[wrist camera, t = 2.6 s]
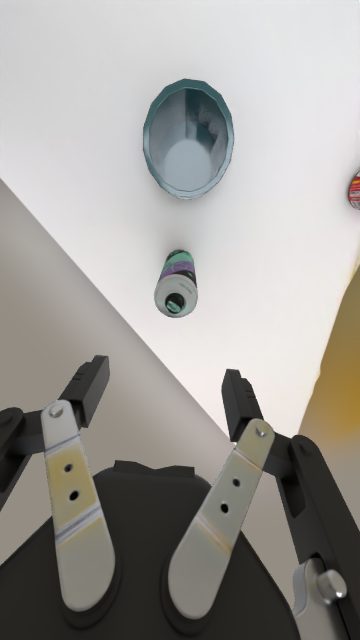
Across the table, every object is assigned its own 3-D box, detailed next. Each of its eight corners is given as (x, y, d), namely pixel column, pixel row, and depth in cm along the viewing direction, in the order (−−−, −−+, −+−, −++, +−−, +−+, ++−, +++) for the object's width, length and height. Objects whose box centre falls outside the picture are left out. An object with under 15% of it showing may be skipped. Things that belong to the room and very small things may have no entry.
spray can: (193, 277, 41) (197, 329, 24) (166, 276, 41) (151, 327, 24) (194, 249, 39) (201, 284, 21) (165, 249, 39) (148, 283, 21)
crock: (153, 195, 34) (142, 191, 26) (156, 112, 29) (144, 72, 21) (213, 203, 35) (222, 201, 26) (227, 121, 30) (244, 86, 21)
